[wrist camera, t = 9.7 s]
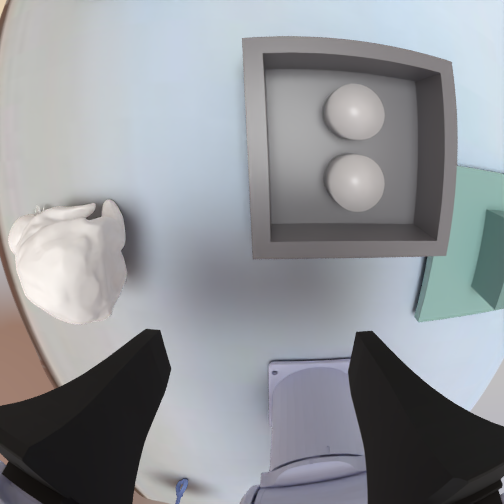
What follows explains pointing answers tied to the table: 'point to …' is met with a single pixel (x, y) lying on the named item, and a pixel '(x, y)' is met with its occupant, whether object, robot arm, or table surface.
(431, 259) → the lid
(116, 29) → the table surface
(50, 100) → the table surface
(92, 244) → the white lumpy piece
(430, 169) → the storage box
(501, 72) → the table surface
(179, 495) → the baby rattle
